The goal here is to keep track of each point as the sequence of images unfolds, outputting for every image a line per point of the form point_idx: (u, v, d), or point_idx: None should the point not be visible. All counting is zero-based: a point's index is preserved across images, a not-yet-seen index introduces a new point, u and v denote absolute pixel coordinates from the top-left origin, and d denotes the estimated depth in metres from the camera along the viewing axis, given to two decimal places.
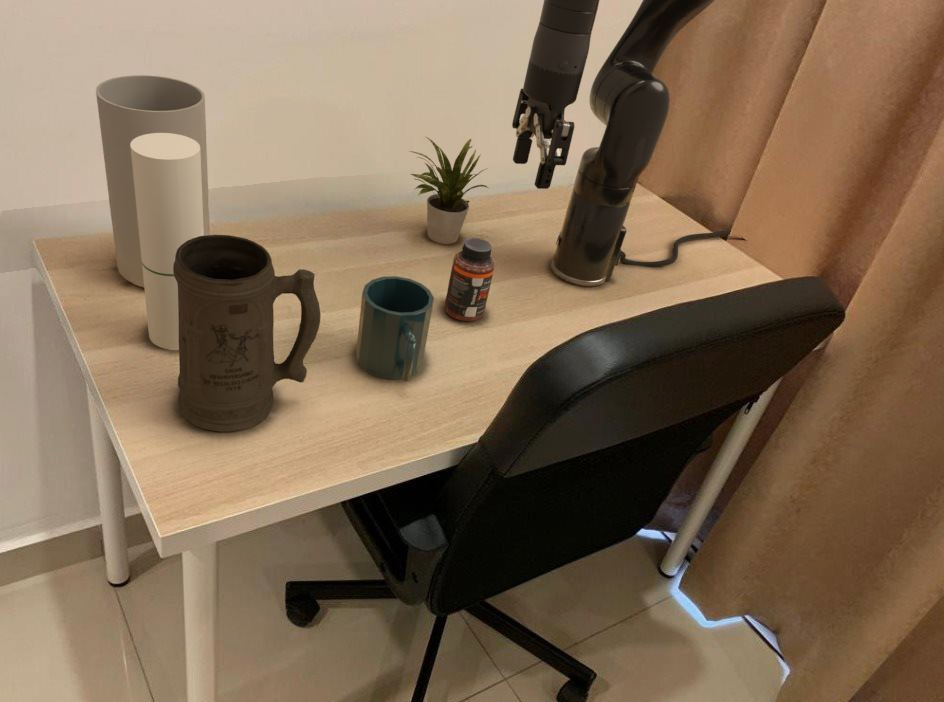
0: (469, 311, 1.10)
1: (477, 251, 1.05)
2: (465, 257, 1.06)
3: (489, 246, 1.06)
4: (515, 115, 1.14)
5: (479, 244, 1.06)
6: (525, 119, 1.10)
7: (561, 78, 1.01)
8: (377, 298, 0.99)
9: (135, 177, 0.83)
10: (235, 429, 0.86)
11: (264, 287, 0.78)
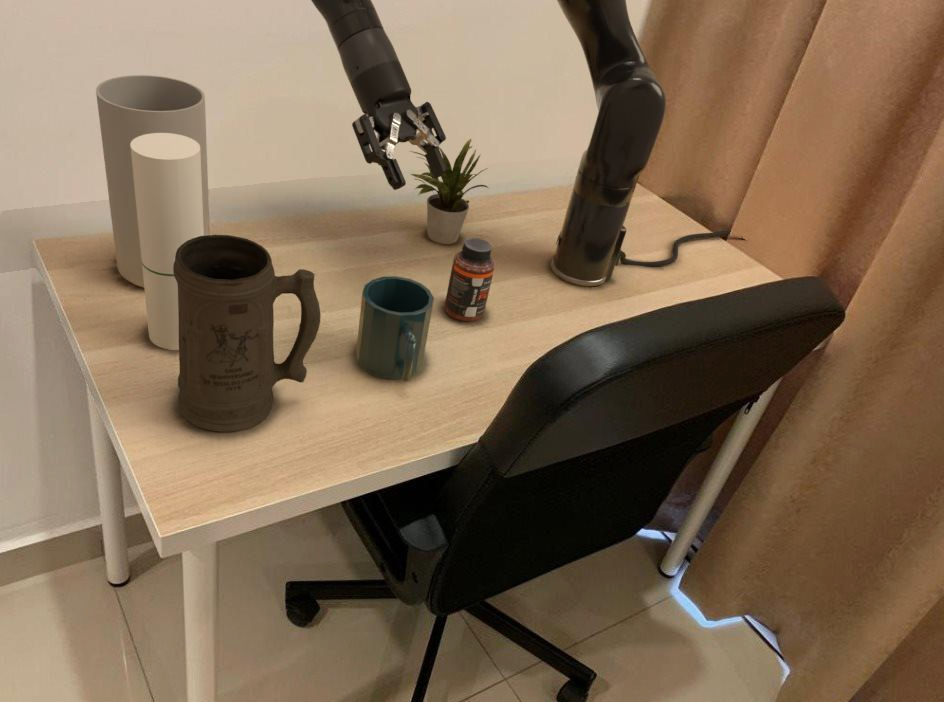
0: (469, 311, 1.10)
1: (477, 251, 1.05)
2: (465, 257, 1.06)
3: (489, 246, 1.06)
4: None
5: (479, 244, 1.06)
6: None
7: (355, 84, 1.05)
8: (377, 298, 0.99)
9: (135, 177, 0.83)
10: (235, 429, 0.86)
11: (264, 287, 0.78)
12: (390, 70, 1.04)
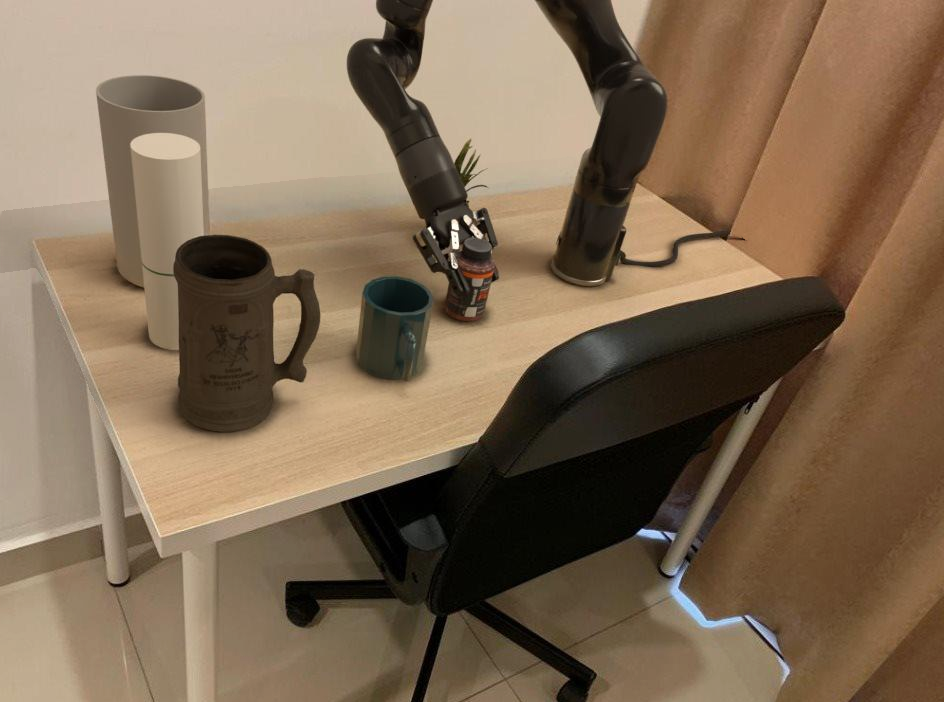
0: (469, 311, 1.10)
1: (477, 251, 1.05)
2: (465, 257, 1.06)
3: (489, 246, 1.06)
4: None
5: (479, 244, 1.06)
6: None
7: (412, 192, 1.06)
8: (377, 298, 0.99)
9: (135, 177, 0.83)
10: (235, 429, 0.86)
11: (264, 287, 0.78)
12: (448, 179, 1.04)
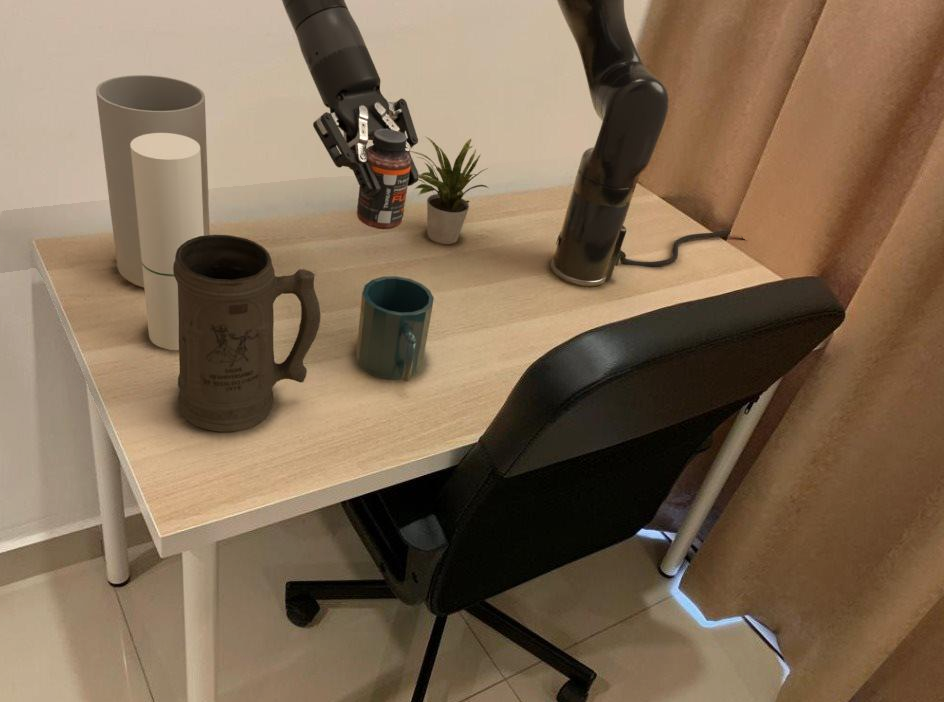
0: (382, 216, 0.95)
1: (388, 141, 0.90)
2: (375, 150, 0.92)
3: (403, 138, 0.92)
4: None
5: (392, 135, 0.92)
6: None
7: (314, 73, 0.91)
8: (377, 298, 0.99)
9: (135, 177, 0.83)
10: (235, 429, 0.86)
11: (264, 287, 0.78)
12: (354, 56, 0.90)
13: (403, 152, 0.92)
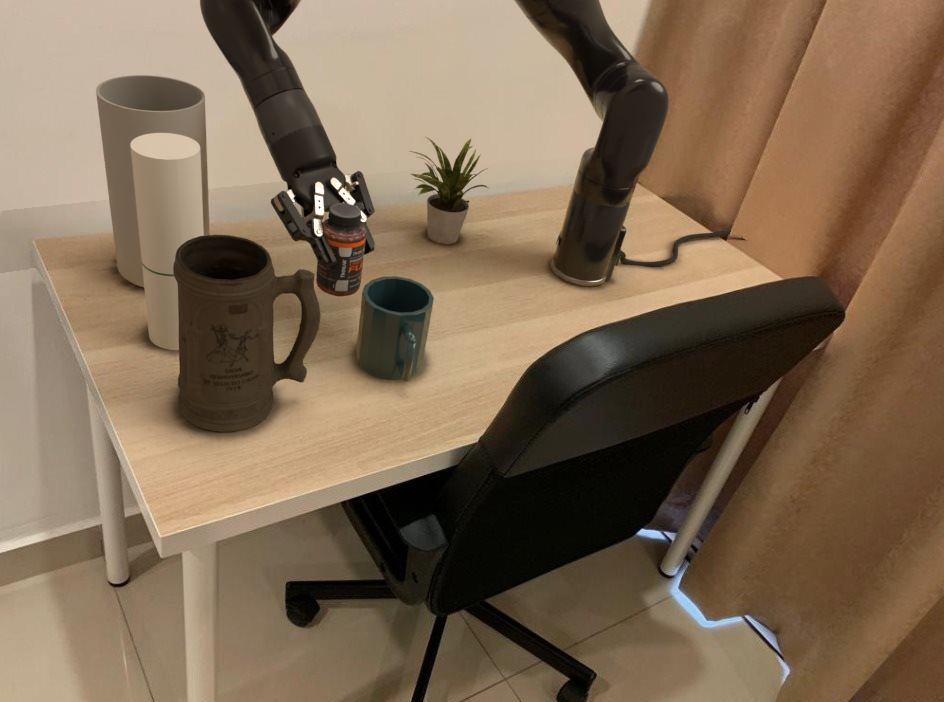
0: (339, 284, 0.99)
1: (343, 216, 0.94)
2: (330, 224, 0.96)
3: (358, 212, 0.96)
4: None
5: (347, 210, 0.96)
6: None
7: (272, 151, 0.95)
8: (377, 298, 0.99)
9: (135, 177, 0.83)
10: (235, 429, 0.86)
11: (264, 287, 0.78)
12: (310, 136, 0.94)
13: (358, 225, 0.96)
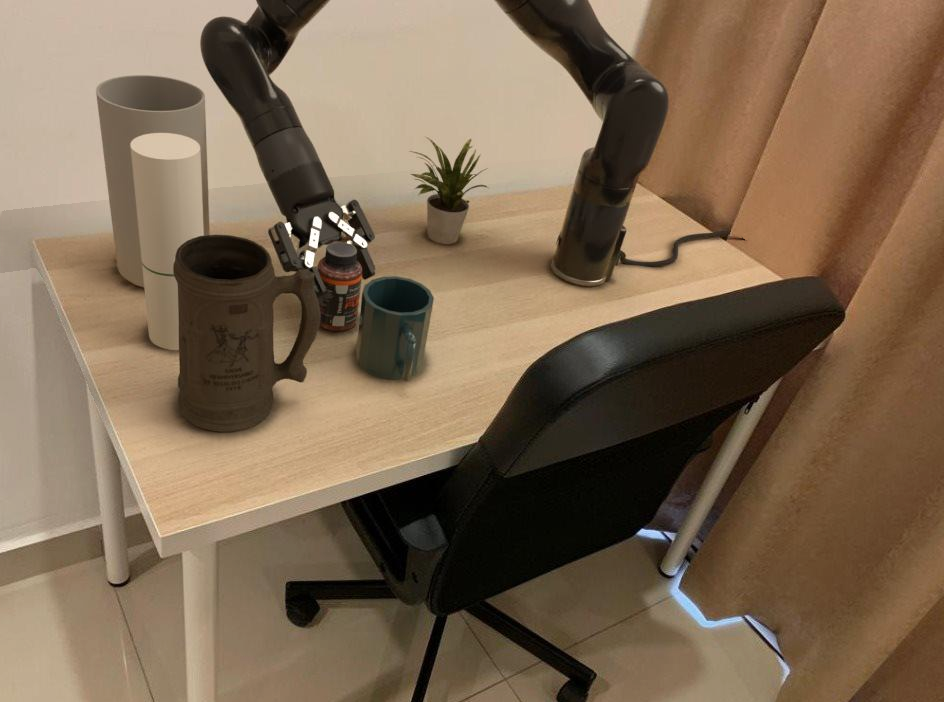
0: (336, 320, 1.03)
1: (339, 256, 0.98)
2: (327, 263, 0.99)
3: (354, 251, 0.99)
4: None
5: (343, 249, 0.99)
6: None
7: (271, 187, 0.98)
8: (377, 298, 0.99)
9: (135, 177, 0.83)
10: (235, 429, 0.86)
11: (264, 287, 0.78)
12: (308, 173, 0.97)
13: (354, 264, 1.00)
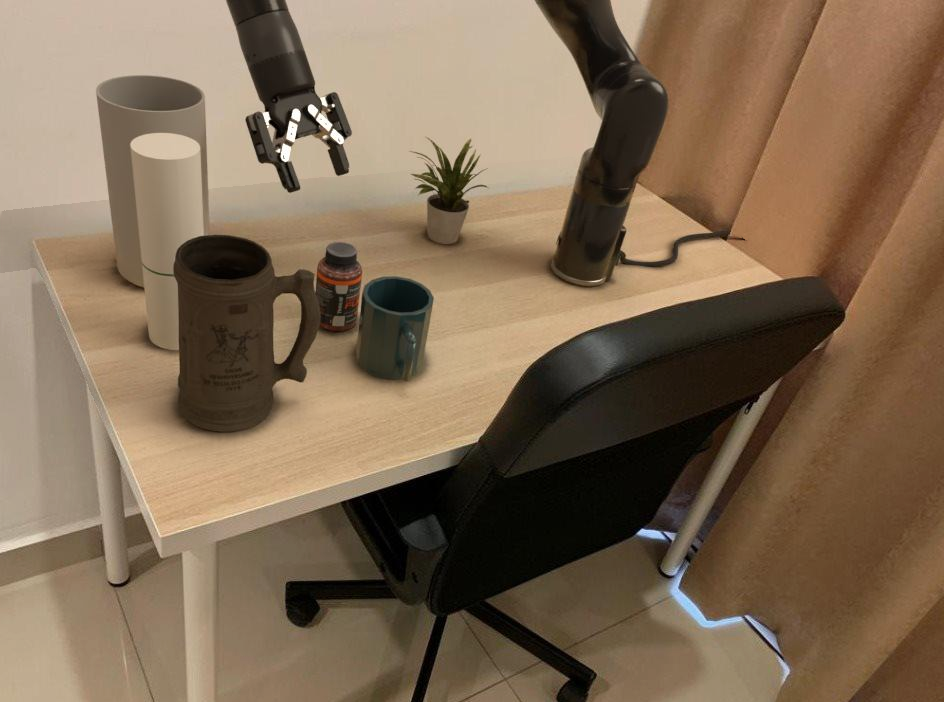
0: (336, 320, 1.03)
1: (339, 256, 0.98)
2: (327, 263, 0.99)
3: (354, 251, 0.99)
4: None
5: (343, 249, 0.99)
6: None
7: (252, 72, 0.96)
8: (377, 298, 0.99)
9: (135, 177, 0.83)
10: (235, 429, 0.86)
11: (264, 287, 0.78)
12: (291, 63, 0.95)
13: (354, 264, 1.00)
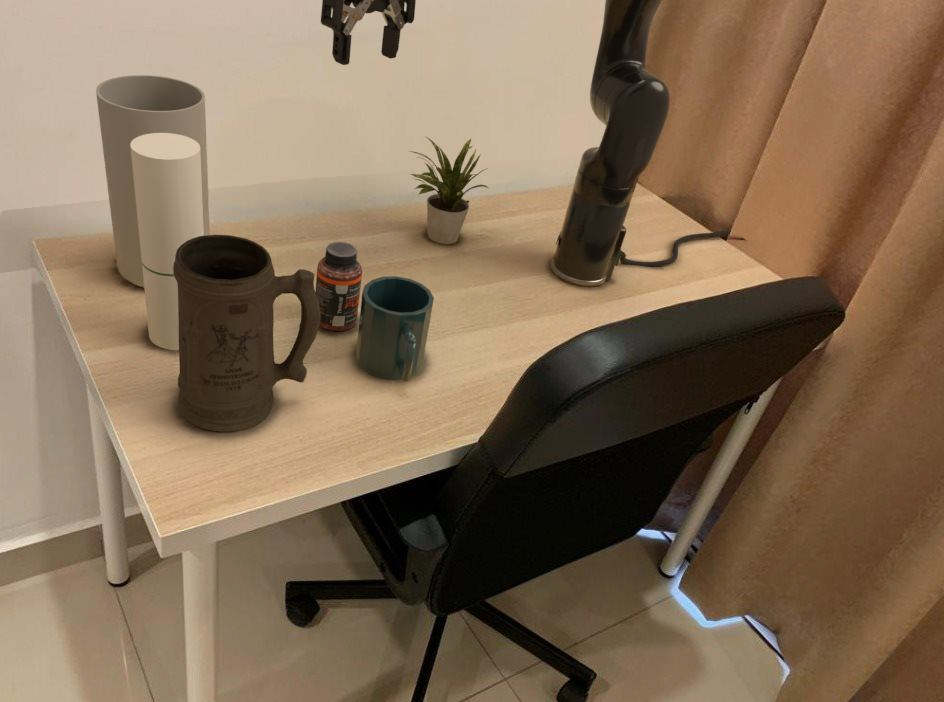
0: (336, 320, 1.03)
1: (339, 256, 0.98)
2: (327, 263, 0.99)
3: (354, 251, 0.99)
4: None
5: (343, 249, 0.99)
6: None
7: None
8: (377, 298, 0.99)
9: (135, 177, 0.83)
10: (235, 429, 0.86)
11: (264, 287, 0.78)
12: None
13: (354, 264, 1.00)
